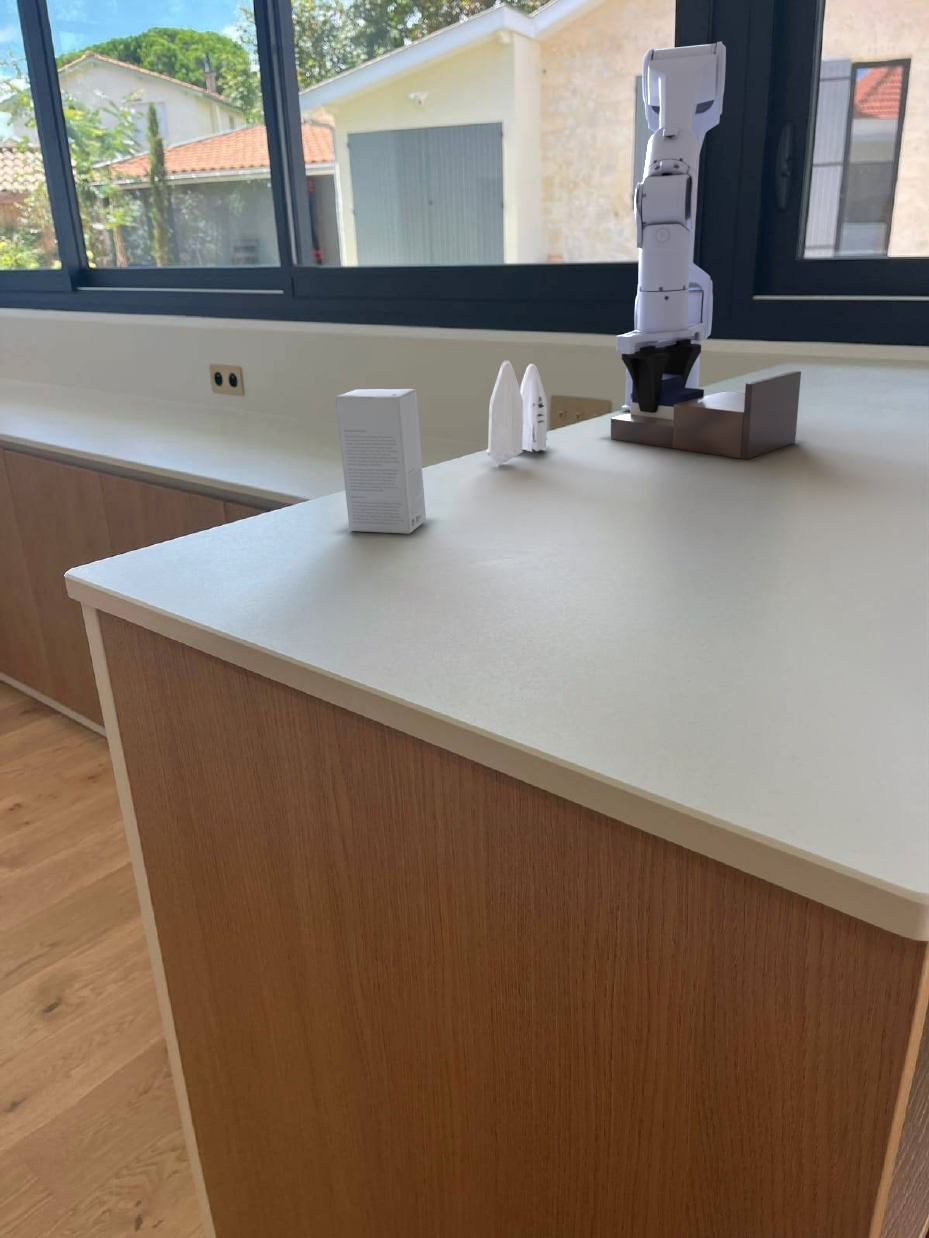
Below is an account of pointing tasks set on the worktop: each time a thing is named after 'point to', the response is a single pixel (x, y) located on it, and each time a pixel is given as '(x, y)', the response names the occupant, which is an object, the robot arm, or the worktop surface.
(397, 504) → the cosmetic box
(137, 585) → the worktop surface
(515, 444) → the shaker set
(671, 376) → the navy stepped block
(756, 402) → the step shelf
